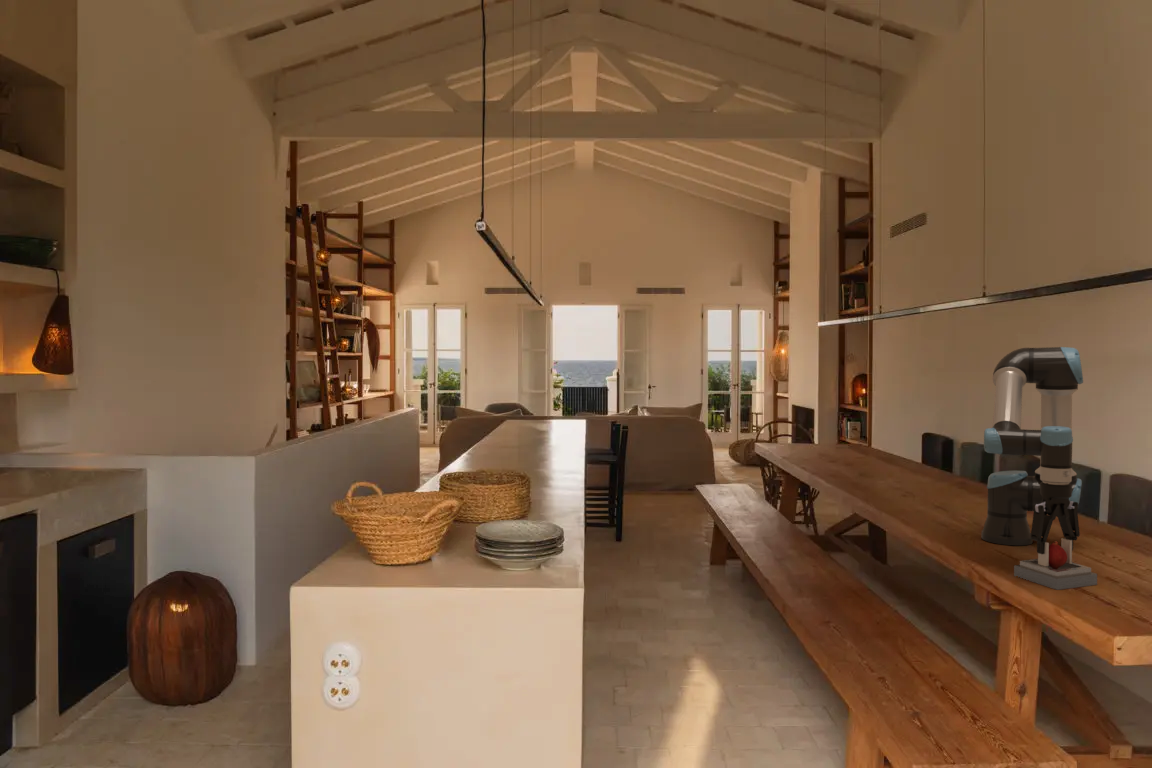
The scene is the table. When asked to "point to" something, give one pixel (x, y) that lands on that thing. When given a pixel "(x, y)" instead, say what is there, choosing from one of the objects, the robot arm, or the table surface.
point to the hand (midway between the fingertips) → (1054, 563)
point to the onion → (1056, 555)
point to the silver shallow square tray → (1056, 574)
